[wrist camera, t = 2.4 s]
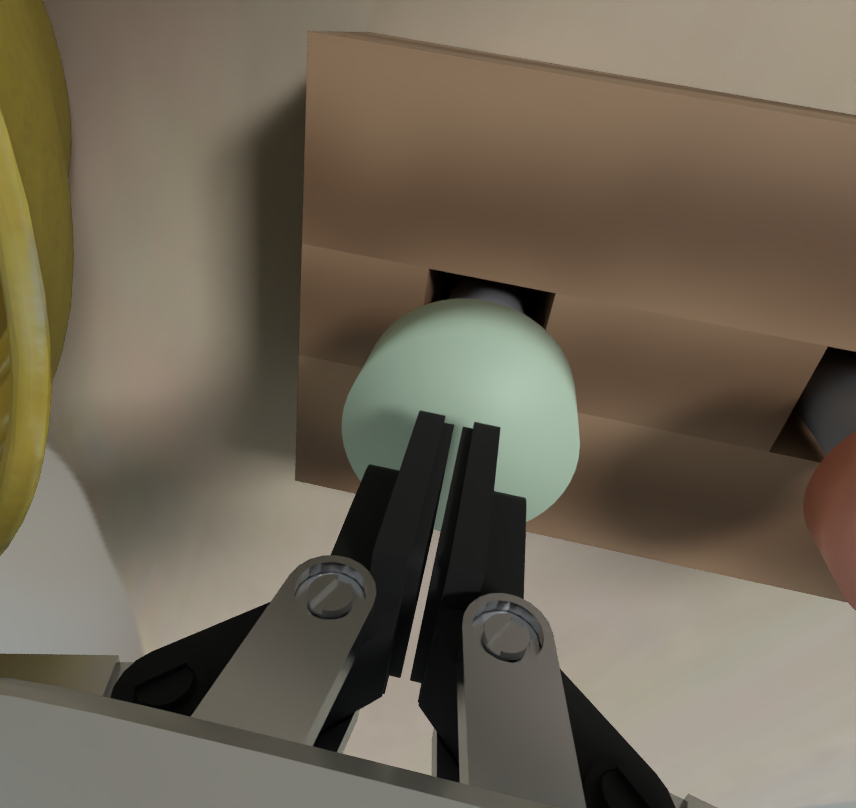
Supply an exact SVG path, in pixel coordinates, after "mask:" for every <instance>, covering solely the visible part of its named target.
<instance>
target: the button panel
mask: <svg viewBox="0 0 856 808" xmlns="http://www.w3.org/2000/svg"><path fill="white" fill-rule="evenodd" d="M446 272H449V273H454V274H460V275H465V276H470V277H475V278H480V279H485V280H490V281H495V282H501V283H506V284H511V285H516V286H521V287H526V288H531V289H537V290H539V291H538V295H537V299H536V303H535V307H534V311H533V315H532V320H534V321H535V322H536V323H538V324H539V325H540V326H542V327H543V328H544V329H545V330H546V331H547V332H548V333H549V334H550V335H551V336H552V337H553V339H554V340H555V341H556V342H557V344H558V345H559V346H560V347H561V349H562V351H563V353H564V354H565V356H566V358H567V360H568V362H569V365H570V367H571V370H572V373H573V378H574V382H575V391H576V402H577V414H578V425H579V438H580V449H579V458H578V462H577V466H576V470H575V472H574V475H573V477H572V479H571V481H570V483H569V485H568V486H567V488H566V489H565V491H564V492H563V494H562V495H561V496H560V497H559V498H558V499H557V500H556V502H555V503H554V504H552V505H551V506H550V507H549V508H548V509H547V510H545V511H544V512H543V513H541V514H540V515H538V516H537V517H535V518H533V519H531V520H529V521H527V522H526V531H527V532H531V533H536V534H540V535H545V536H549V537H554V538H558V539H563V540H567V541H572V542H577V543H581V544H586V545H590V546H595V547H599V548H604V549H608V550H613V551H617V552H622V553H626V554H631V555H635V556H640V557H644V558H649V559H653V560H658V561H662V562H667V563H671V564H676V565H680V566H685V567H690V568H694V569H699V570H703V571H708V572H712V573H717V574H721V575H726V576H730V577H735V578H739V579H744V580H748V581H753V582H757V583H762V584H766V585H771V586H775V587H780V588H784V589H789V590H794V591H798V592H803V593H807V594H812V595H816V596H821V597H825V598H830V599H834V600H839V601H843V602H848V601H847V600H846V599H845V597H844V596H843V594H842V592H841V590H840V589H839V587H838V585H837V583H836V581H835V579H834V577H833V575H832V574H831V572H830V570H829V568H828V566H827V564H826V562H825V560H824V559H823V557H822V555H821V553H820V551H819V549H818V547H817V545H816V544H815V542H814V540H813V538H812V536H811V534H810V532H809V530H808V528H807V526H806V523H805V518H804V513H803V502H804V495H805V491H806V488H807V485H808V482H809V480H810V478H811V477H812V475H813V473H814V471H815V469H816V468H817V467H818V465H819V464H820V463H821V461H822V460H823V459H824V458H825V457H826V454H825V452H824V451H823V449H822V448H821V446H820V445H819V443H818V442H817V440H816V439H815V437H814V436H813V434H812V433H811V431H810V430H809V428H808V427H807V425H806V424H805V423H804V421H803V420H802V418H801V417H800V415H799V414H798V412H797V411H796V409H795V408H794V406H795V405H796V403H797V401H798V399H799V397H800V396H801V394H802V392H803V390H804V388H805V387H806V385H807V383H808V381H809V379H810V378H811V376H812V374H813V372H814V371H815V369H816V367H817V365H818V363H819V362H820V360H821V358H822V356H823V354H824V353H825V351H826V349H827V347H828V346H829V347H834V348H839V349H844V350H849V351H854V352H856V115H851V114H845V113H839V112H833V111H827V110H821V109H815V108H809V107H804V106H798V105H792V104H786V103H780V102H774V101H768V100H763V99H757V98H751V97H745V96H739V95H733V94H727V93H722V92H716V91H710V90H704V89H698V88H692V87H686V86H680V85H675V84H669V83H663V82H657V81H651V80H645V79H639V78H634V77H628V76H622V75H616V74H610V73H604V72H598V71H593V70H587V69H581V68H575V67H569V66H563V65H557V64H552V63H546V62H540V61H534V60H528V59H522V58H516V57H510V56H505V55H499V54H493V53H487V52H481V51H475V50H469V49H464V48H458V47H452V46H446V45H440V44H434V43H428V42H423V41H417V40H411V39H405V38H399V37H393V36H387V35H381V34H376V33H370V32H324V31H308V49H307V84H306V119H305V154H304V189H303V224H302V259H301V294H300V329H299V364H298V399H297V434H296V469H295V480H296V481H301V482H305V483H310V484H314V485H319V486H323V487H328V488H332V489H337V490H341V491H346V492H350V493H355V494H356V492H357V490H358V488H359V485H360V483H361V481H360V480H359V478H358V477H357V475H356V474H355V472H354V470H353V469H352V466H351V464H350V462H349V460H348V458H347V455H346V451H345V448H344V444H343V437H342V416H343V409H344V405H345V402H346V399H347V396H348V394H349V392H350V390H351V388H352V386H353V384H354V382H355V381H356V379H357V377H358V375H359V373H360V371H361V370H362V368H363V366H364V364H365V362H366V361H367V359H368V357H369V355H370V353H371V351H372V350H373V348H374V346H375V344H376V342H377V341H378V340H379V338H380V337H381V336H382V334H383V333H384V332H385V331H386V330H387V329H388V328H389V327H390V326H391V325H392V324H393V323H394V322H395V321H397V320H398V319H399V318H401V317H402V316H403V315H405V314H407V313H409V312H410V311H412V310H414V309H416V308H419V307H421V306H424V305H426V304H429V303H433V302H437V301H441V300H442V294H443V288H444V282H445V276H446Z"/></svg>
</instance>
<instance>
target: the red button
mask: <svg viewBox="0 0 856 808" xmlns="http://www.w3.org/2000/svg"><path fill="white" fill-rule="evenodd" d="M794 408H795V409H796V411H797V412H798V414H799V415H800V417H801V418H802V420H803V421H804V423H805V424H806V425H807V427H808V428H809V430H810V431H811V433H812V434H813V436H814V437H815V439H816V440H817V442H818V443H819V445H820V446H821V448H822V449H823V451H824V452H825V454H826V457H825V458H824V459H823V460H822V461H821V463H820V464H819V465H818V467H817V468H816V469H815V471H814V473H813V475H812V477H811V478H810V480H809V482H808V485H807V488H806V491H805V495H804V502H803V513H804V518H805V523H806V526H807V528H808V530H809V532H810V534H811V536H812V538H813V540H814V542H815V544H816V545H817V547H818V549H819V551H820V553H821V555H822V557H823V559H824V560H825V562H826V564H827V566H828V568H829V570H830V572H831V574H832V575H833V577H834V579H835V581H836V583H837V585H838V587H839V589H840V590H841V592H842V594H843V596H844V597H845V599H846V600H847V601H848V603H849V604H850V605H851V606H852V607H853V608H854V609H855V610H856V352H854V351H849V350H844V349H839V348H834V347H829V346H828V347H827V349H826V351H825V353H824V354H823V356H822V358H821V360H820V362H819V363H818V365H817V367H816V369H815V371H814V372H813V374H812V376H811V378H810V379H809V381H808V383H807V385H806V387H805V388H804V390H803V392H802V394H801V396H800V397H799V399H798V401H797V403H796V405H795V406H794Z"/></svg>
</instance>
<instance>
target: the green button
mask: <svg viewBox="0 0 856 808" xmlns="http://www.w3.org/2000/svg"><path fill="white" fill-rule="evenodd" d="M420 410H421V411H426V412H431V413H436V414H440V415H445V423H449V424H454V429H453V434H452V439H451V444H450V449H449V454H448V459H447V464H446V469H445V474H444V479H443V484H442V489H441V494H440V499H439V504H438V509H437V514H436V519H435V524H434V529H435V530H439V531H441V528H442V523H443V518H444V513H445V509H446V504H447V499H448V494H449V490H450V485H451V480H452V475H453V470H454V466H455V461H456V456H457V451H458V447H459V442H460V437H461V432H462V428H463V427H468V428H473V425H474V422H479V423H483V424H488V425H493V426H498V427H500V428H501V429H500V439H499V448H498V458H497V467H496V476H495V486H494V491H496V492H501V493H506V494H510V495H515V496H519V497H524V498H526V503H527V507H526V522H527V521H529V520H531V519H533V518H535V517H537V516H538V515H540V514H541V513H543V512H544V511H545V510H547V509H548V508H549V507H550V506H551V505H552V504H554V503H555V502H556V500H557V499H558V498H559V497H560V496H561V495H562V494H563V492H564V491H565V489H566V488H567V486H568V485H569V483H570V481H571V479H572V477H573V475H574V472H575V470H576V466H577V462H578V458H579V449H580V438H579V425H578V414H577V402H576V391H575V382H574V378H573V373H572V370H571V367H570V365H569V362H568V360H567V358H566V356H565V354H564V353H563V351H562V349H561V347H560V346H559V345H558V344H557V342H556V341H555V340H554V339H553V337H552V336H551V335H550V334H549V333H548V332H547V331H546V330H545V329H544V328H543V327H542V326H540V325H539V324H538V323H536V322H535V321H534V320H532V319H531V318H530V317H528V316H526V304H525V300H524V298H523V296H522V294H521V292H520V291H519V289H518V288H517V287H516V286H515V285H511V284H506V283H501V282H495V281H490V280H485V279H480V278H475V277H470V276H469V277H467V278H465V279H463V280H462V281H460V282H459V283H458V284H457V285H456V286H455V287H454V288H453V289H452V291H451V292H450V294H449V296H448V299H447V300H441V301H437V302H433V303H429V304H426V305H424V306H421V307H419V308H416V309H414V310H412V311H410V312H409V313H407V314H405V315H403V316H402V317H401V318H399V319H398V320H397V321H395V322H394V323H393V324H392V325H391V326H390V327H389V328H388V329H387V330H386V331H385V332H384V333H383V334H382V336H381V337H380V338H379V340H378V341H377V342H376V344H375V346H374V348H373V350H372V351H371V353H370V355H369V357H368V359H367V361H366V362H365V364H364V366H363V368H362V370H361V371H360V373H359V375H358V377H357V379H356V381H355V382H354V384H353V386H352V388H351V390H350V392H349V394H348V396H347V399H346V402H345V405H344V409H343V416H342V437H343V444H344V448H345V451H346V455H347V458H348V460H349V462H350V464H351V466H352V469H353V470H354V472H355V474H356V475H357V477H358V478H359V480H360V481H361V480H362V478H363V475H364V473H365V471H366V469H367V466H368V465H369V464H371V465H376V466H381V467H385V468H390V469H395V470H400V467H401V464H402V461H403V458H404V455H405V452H406V449H407V446H408V443H409V440H410V437H411V434H412V431H413V428H414V425H415V422H416V419H417V416H418V413H419V411H420Z"/></svg>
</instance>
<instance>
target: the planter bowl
mask: <svg viewBox="0 0 856 808" xmlns="http://www.w3.org/2000/svg"><path fill="white" fill-rule="evenodd" d="M70 155H71V118H70V109H69V100H68V92H67V87H66V81H65V76H64V71H63V66H62V61H61V57H60V53H59V49H58V46H57V42H56V38H55V35H54V31H53V28H52V25H51V22H50V19H49V16H48V13H47V11H46V8H45V5H44V2H43V0H0V555H1V554H2V553H3V552H4V551H5V550H6V549H7V547H8V546H9V544H10V543H11V541H12V539H13V537H14V536H15V534H16V532H17V531H18V529H19V527H20V526H21V524H22V523H23V520H24V518H25V516H26V514H27V511H28V509H29V507H30V505H31V502H32V500H33V497H34V494H35V491H36V487H37V484H38V481H39V477H40V473H41V468H42V464H43V459H44V452H45V447H46V441H47V435H48V429H49V416H50V403H51V383H52V381H53V378H54V375H55V372H56V369H57V366H58V363H59V360H60V357H61V354H62V351H63V345H64V340H65V335H66V330H67V325H68V320H69V315H70V310H71V298H72V279H73V260H74V251H73V224H72V212H71V199H70V189H69V182H68V177H69V166H70Z"/></svg>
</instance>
